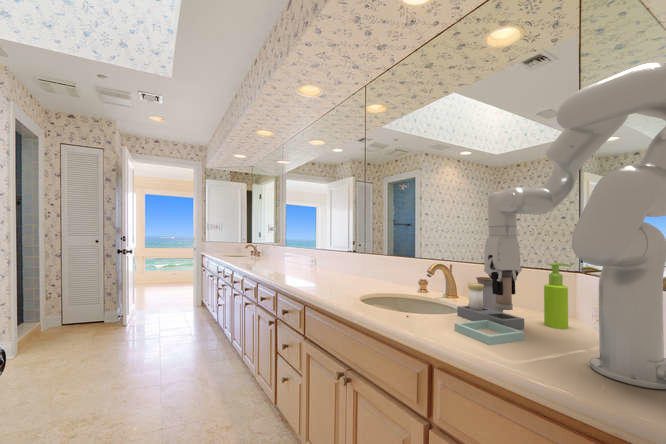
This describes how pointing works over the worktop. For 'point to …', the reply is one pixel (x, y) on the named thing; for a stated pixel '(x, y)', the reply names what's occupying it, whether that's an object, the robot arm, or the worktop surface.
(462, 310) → the fuse holder
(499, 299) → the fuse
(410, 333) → the worktop surface
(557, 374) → the worktop surface
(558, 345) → the worktop surface
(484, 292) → the coffee pot
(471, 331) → the parts tray
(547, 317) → the soap dispenser
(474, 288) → the fuse
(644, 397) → the worktop surface
